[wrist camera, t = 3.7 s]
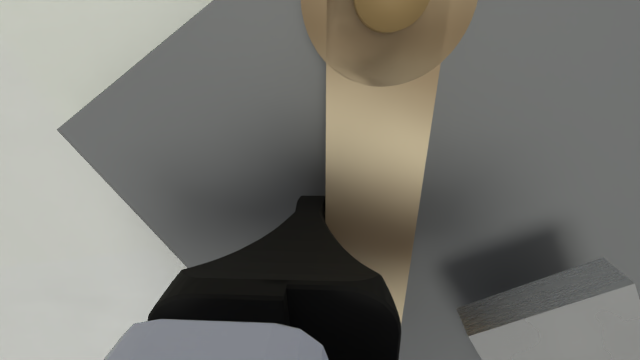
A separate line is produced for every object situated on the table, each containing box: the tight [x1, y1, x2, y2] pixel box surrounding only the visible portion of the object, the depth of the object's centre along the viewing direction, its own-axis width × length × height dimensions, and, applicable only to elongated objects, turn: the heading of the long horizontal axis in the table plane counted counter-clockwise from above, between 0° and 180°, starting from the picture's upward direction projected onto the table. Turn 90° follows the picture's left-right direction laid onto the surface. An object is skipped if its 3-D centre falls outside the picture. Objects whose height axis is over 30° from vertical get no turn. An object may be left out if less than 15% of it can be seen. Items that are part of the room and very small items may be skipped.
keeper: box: [456, 257, 640, 360], centre depth 12 cm, size 8×5×4 cm, turn 32°
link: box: [301, 0, 478, 322], centre depth 10 cm, size 16×5×2 cm, turn 0°
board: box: [57, 0, 640, 360], centre depth 14 cm, size 20×24×1 cm
